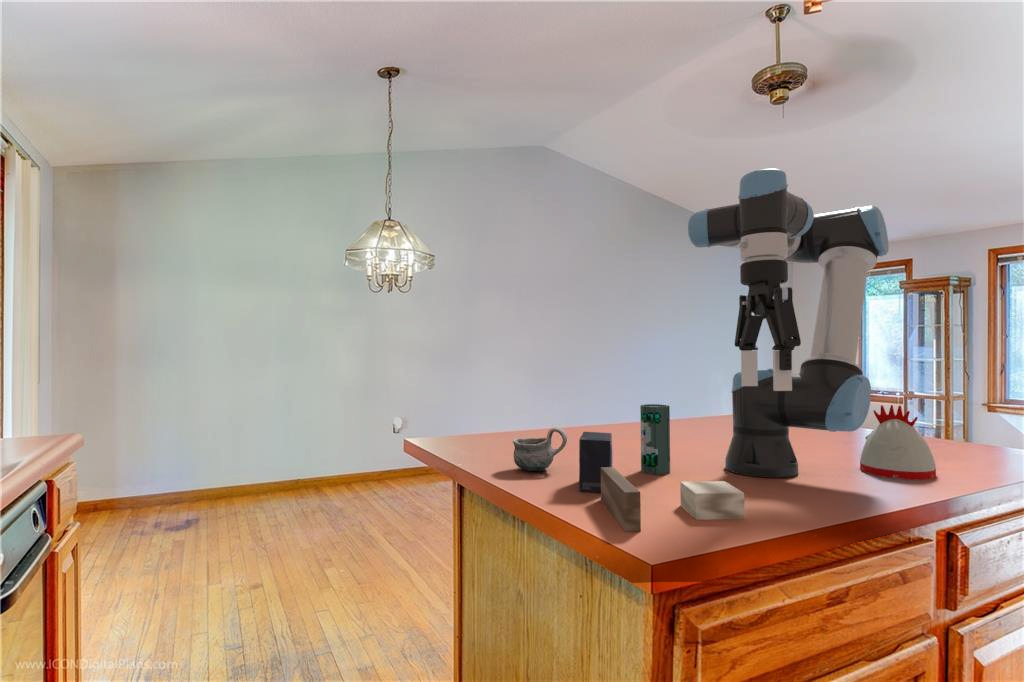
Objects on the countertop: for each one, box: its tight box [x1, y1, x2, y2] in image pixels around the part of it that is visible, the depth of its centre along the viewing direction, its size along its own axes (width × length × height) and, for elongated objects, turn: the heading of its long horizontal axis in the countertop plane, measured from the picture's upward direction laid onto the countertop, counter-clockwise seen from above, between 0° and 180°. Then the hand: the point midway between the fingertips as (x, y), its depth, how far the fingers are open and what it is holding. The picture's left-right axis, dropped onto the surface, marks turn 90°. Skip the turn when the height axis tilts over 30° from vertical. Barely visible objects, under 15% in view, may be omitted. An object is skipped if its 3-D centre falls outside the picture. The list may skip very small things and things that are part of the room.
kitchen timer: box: [859, 404, 937, 480], centre depth 124 cm, size 14×14×15 cm
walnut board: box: [600, 466, 642, 532], centre depth 95 cm, size 2×18×6 cm, turn 3°
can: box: [639, 403, 671, 476], centre depth 127 cm, size 6×6×15 cm
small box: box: [578, 431, 613, 493], centre depth 114 cm, size 11×6×10 cm, turn 168°
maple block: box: [679, 480, 745, 520], centre depth 96 cm, size 8×8×4 cm
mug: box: [512, 427, 568, 472], centre depth 129 cm, size 10×12×10 cm
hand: (765, 388), depth 96 cm, fingers open, 11 cm apart
